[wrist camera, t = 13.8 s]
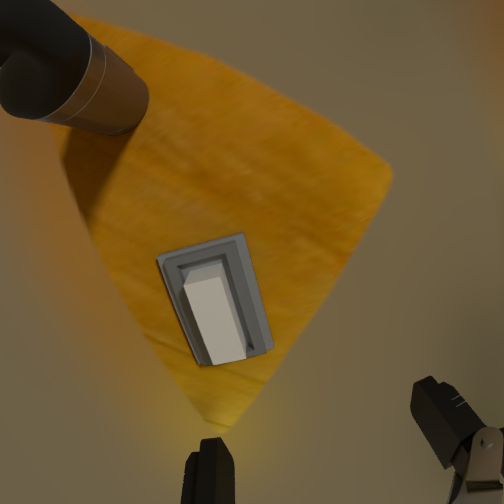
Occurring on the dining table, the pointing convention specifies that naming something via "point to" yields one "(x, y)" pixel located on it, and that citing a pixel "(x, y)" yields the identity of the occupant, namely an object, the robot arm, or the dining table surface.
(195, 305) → the off-white tapered block
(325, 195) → the dining table surface
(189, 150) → the dining table surface
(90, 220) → the dining table surface
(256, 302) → the cradle
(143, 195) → the dining table surface
